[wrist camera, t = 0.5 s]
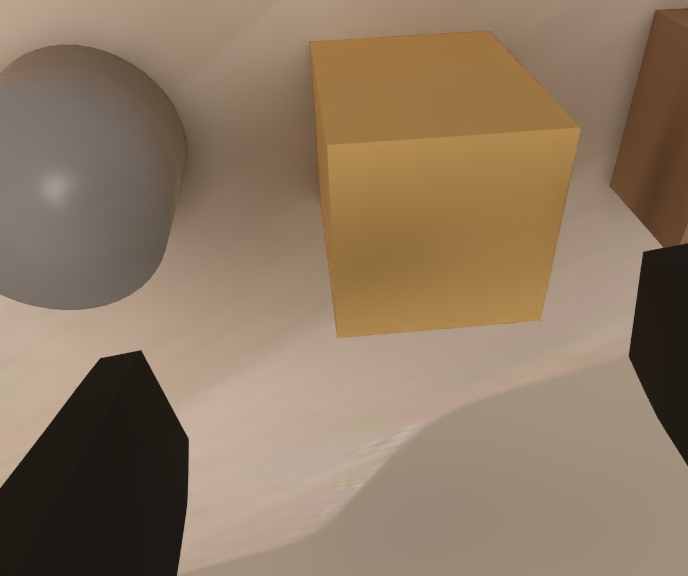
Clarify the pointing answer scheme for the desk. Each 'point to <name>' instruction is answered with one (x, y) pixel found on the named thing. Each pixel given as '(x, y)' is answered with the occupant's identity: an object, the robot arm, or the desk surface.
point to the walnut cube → (659, 134)
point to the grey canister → (84, 177)
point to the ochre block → (437, 181)
